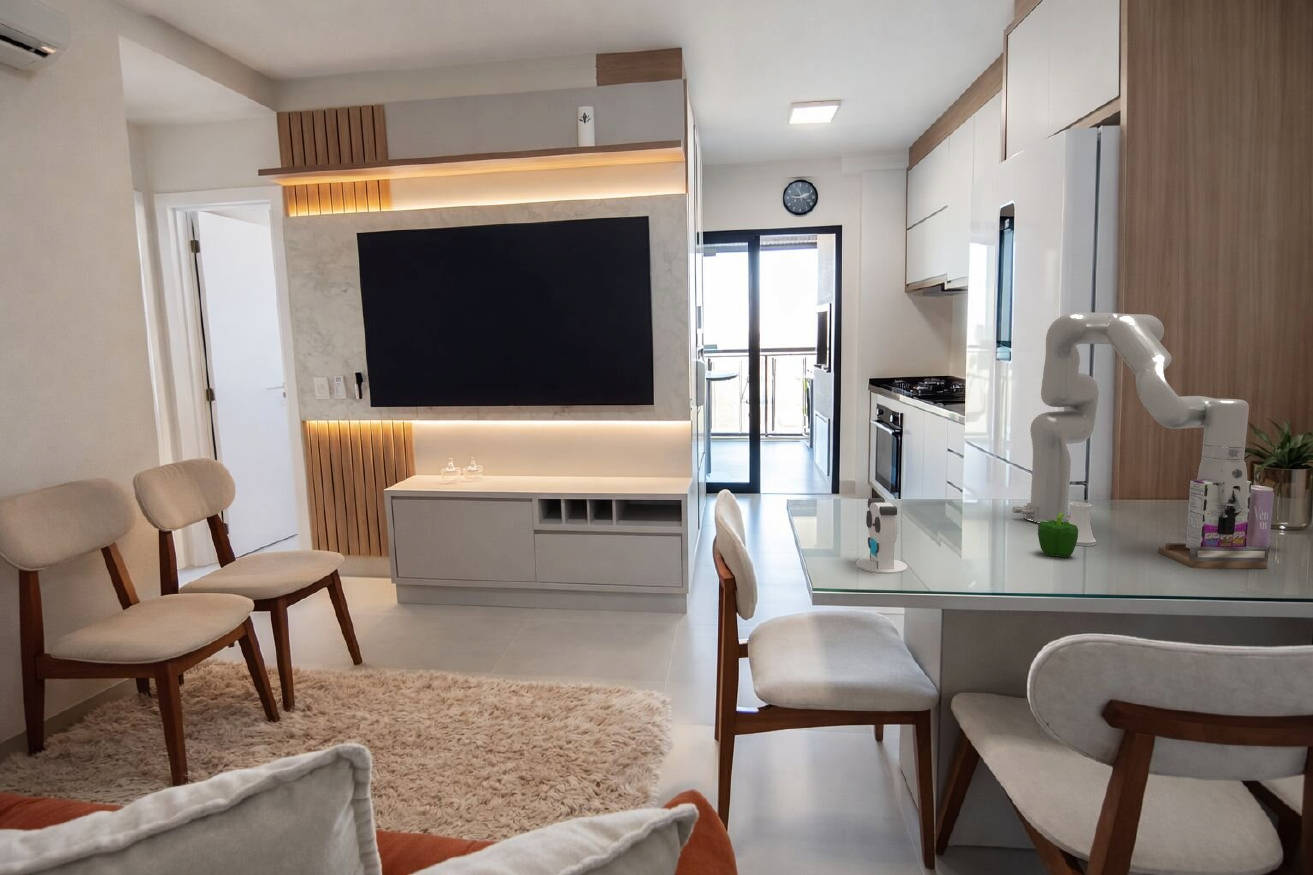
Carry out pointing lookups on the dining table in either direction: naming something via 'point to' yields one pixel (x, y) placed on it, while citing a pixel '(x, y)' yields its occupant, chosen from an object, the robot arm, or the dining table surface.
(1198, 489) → the candy bar box
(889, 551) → the panda figurine
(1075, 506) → the vase
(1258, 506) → the beverage can
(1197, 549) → the wooden tray
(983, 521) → the dining table surface
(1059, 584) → the dining table surface
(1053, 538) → the bell pepper
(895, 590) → the dining table surface
